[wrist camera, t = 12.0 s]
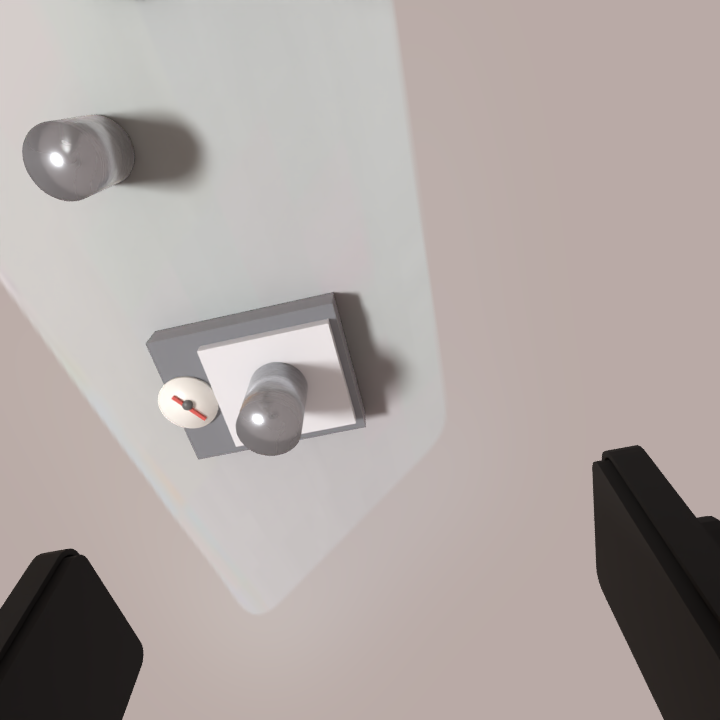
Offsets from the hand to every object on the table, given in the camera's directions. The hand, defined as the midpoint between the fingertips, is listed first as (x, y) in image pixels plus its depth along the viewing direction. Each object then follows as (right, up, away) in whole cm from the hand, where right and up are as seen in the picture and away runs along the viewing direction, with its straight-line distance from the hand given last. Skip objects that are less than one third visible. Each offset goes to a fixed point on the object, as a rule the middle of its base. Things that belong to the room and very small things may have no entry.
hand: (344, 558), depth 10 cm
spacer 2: (-5, +2, +28) cm, 28 cm away
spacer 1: (-15, +16, +23) cm, 32 cm away
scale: (-7, +3, +30) cm, 31 cm away
